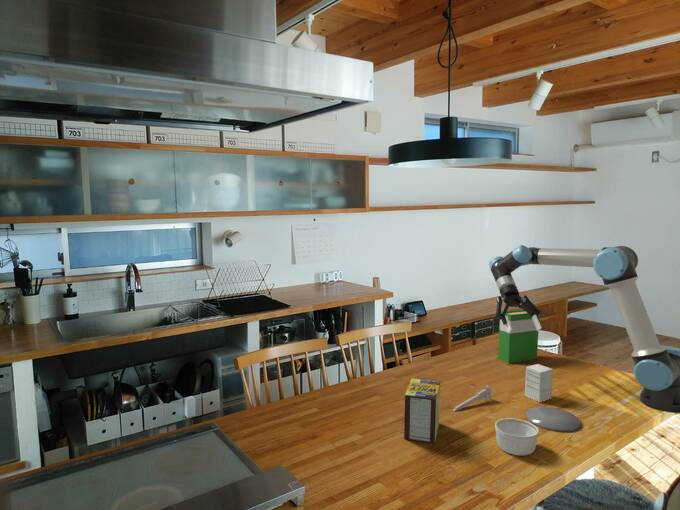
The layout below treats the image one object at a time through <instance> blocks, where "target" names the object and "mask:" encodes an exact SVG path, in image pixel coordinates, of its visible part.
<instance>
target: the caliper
mask: <svg viewBox="0 0 680 510" xmlns="http://www.w3.org/2000/svg"><path fill="white" fill-rule="evenodd" d="M491 395H492V391H491V387H490V386H489V385H486V386H484V388H483V389H482V390H480V391H479V392H477V393H476V394H475V395H474V396H472V397H469V398H468V399H467V400H465V401H462V402H461V403H459V404H458V405H455V406H454V408H453V409H452V411H453V412H458V411H460V410H463V409H464V408H465V407H467V406H469V405H471V404H473V403H475V402H476V401H481V400H482V399H484V400H485V402H486V401H487V402H488V400H489V401H490V400H492V396H491Z"/></svg>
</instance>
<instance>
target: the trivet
mask: <svg viewBox="0 0 680 510" xmlns="http://www.w3.org/2000/svg"><path fill="white" fill-rule="evenodd" d="M526 417H527V418H526ZM525 418H526V420H527V419H528V420H529V421H530V422H529V421H528V422H529V423H531V422H532V423H533V425H534V424H535V426H536V425H537V426H536V427H538V426H540V427H539V428H541V427H542V428H541V429H543V428H546V429H545V430H547V429H549V430H548V431H551V430H552V431H551V432H558V431H559V432H560V433H568V432H574V431H578V429H580V428H581V420H580V418H579V417H578V416H576V415H575V414H573V413H571V412H570V411H567V410H564V409H560V408H556V407H551V406H550V407H549V406H535V407H531V408H529V409H527V410H526V412H525ZM532 423H531V424H532Z"/></svg>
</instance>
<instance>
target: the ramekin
mask: <svg viewBox="0 0 680 510" xmlns="http://www.w3.org/2000/svg"><path fill="white" fill-rule="evenodd" d="M494 425H495V426H494V429H495V438H496V444H497V446H498V447H499V448H500V450H502V451H503V452H505V453H507V454H510V455H514V456H518V457H520V456H521V457H522V456H530V455H531V454H532V453H534V452H535V450H536V447H537V443H538V437H539V435H540V431H539V428H538V426H536V425H534V424H532V423H531V422H529V421H527V420H524V419H519V418H512V417H511V418H510V417H507V418H500V419H498V420H496V421H495V424H494Z"/></svg>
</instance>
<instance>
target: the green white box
mask: <svg viewBox="0 0 680 510" xmlns="http://www.w3.org/2000/svg"><path fill="white" fill-rule="evenodd" d="M502 312H503V311H501V314H502ZM533 314H534V313H533ZM505 316H507V317H508V319H509V322H510V324H511V327H512V329H513V330H512V331H511V332H510V333H508V331H507V328H506V326H505V325H504V324H503V322H502V320H500V319H499V335H498V336H499V337H498V351H497V353H498V354H497V355H498V357H497V359H498V360H499V359H500V361H502V362H504V363H506V364H508V363H509V364H515V362H516V363H522V362H521V361H523V362H527V360H530V361H534V360H533V359H537V360H538V347H539V346H538V345H539V344H538V343H539V331H537V329H536V327H535V325H534V322H533V320H532V316H531V315H530V314H528V313H527V312H526V311H524V310H523V309H516V310H507V312H506V314H505ZM538 317H539V318H540V314H539V315H538Z"/></svg>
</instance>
